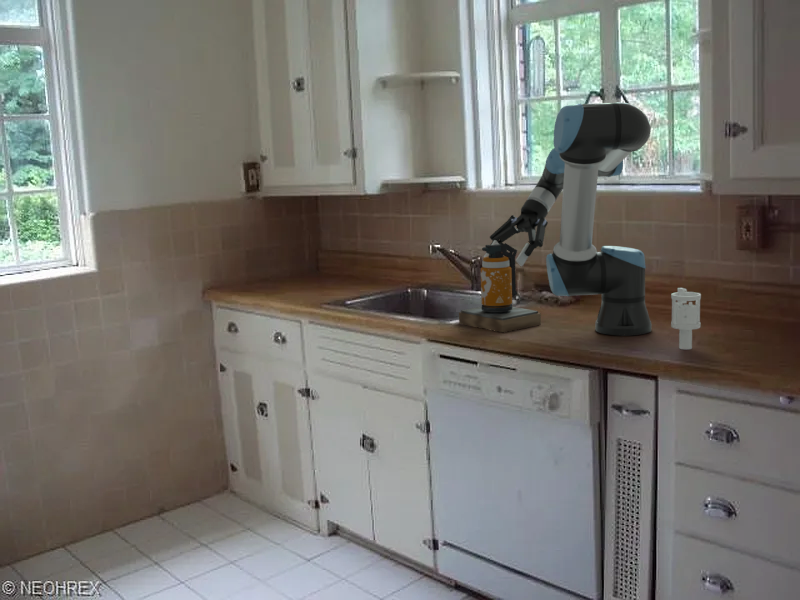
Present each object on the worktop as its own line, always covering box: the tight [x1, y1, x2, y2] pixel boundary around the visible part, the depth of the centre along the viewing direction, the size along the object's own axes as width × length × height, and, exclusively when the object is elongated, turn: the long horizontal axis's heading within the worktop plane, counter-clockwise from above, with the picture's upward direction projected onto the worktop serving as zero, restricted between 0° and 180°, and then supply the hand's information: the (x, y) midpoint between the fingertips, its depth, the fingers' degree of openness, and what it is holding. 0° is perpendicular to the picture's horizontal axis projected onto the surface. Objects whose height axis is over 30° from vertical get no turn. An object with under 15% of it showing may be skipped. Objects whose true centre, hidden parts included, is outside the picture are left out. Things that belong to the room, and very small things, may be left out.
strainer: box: [670, 287, 702, 351], centre depth 233 cm, size 7×7×15 cm
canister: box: [480, 242, 518, 313], centre depth 270 cm, size 9×11×20 cm
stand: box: [458, 306, 542, 333], centre depth 273 cm, size 19×15×4 cm
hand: (502, 261), depth 271 cm, fingers open, 13 cm apart
